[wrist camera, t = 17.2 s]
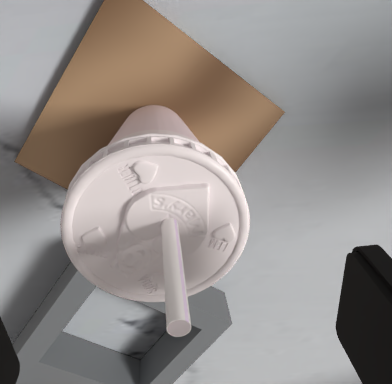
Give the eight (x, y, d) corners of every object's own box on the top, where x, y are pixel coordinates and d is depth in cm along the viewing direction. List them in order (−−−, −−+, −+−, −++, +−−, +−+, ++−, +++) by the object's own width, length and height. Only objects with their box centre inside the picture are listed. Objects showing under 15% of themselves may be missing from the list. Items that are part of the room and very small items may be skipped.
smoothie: (232, 133, 21) (352, 321, 9) (159, 206, 23) (171, 450, 10) (148, 52, 18) (146, 157, 6) (72, 142, 20) (-48, 364, 8)
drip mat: (281, 109, 21) (284, 112, 21) (174, 240, 25) (175, 245, 24) (116, -21, 17) (115, -21, 17) (17, 157, 21) (14, 161, 20)
